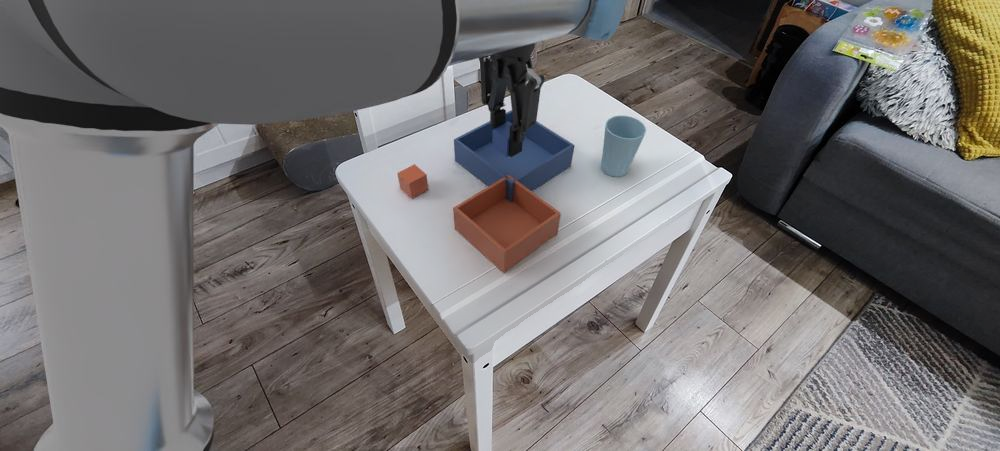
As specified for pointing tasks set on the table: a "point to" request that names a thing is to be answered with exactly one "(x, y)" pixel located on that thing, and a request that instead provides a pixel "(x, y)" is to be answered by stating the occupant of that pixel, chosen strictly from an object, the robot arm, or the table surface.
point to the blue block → (502, 138)
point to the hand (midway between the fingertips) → (506, 147)
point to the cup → (621, 144)
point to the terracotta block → (413, 181)
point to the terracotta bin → (506, 223)
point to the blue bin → (514, 157)
